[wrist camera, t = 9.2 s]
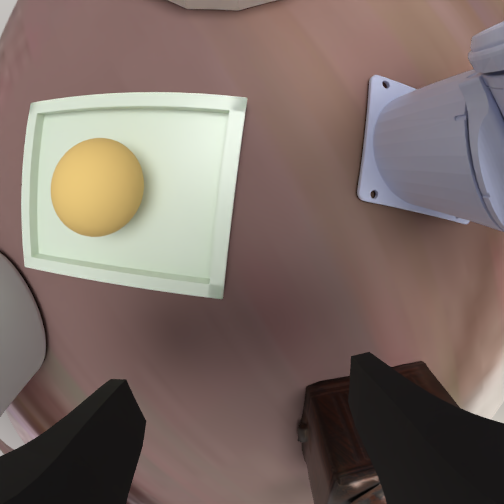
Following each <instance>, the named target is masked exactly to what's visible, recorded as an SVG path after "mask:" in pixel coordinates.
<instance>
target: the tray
mask: <svg viewBox="0 0 504 504" xmlns="http://www.w3.org/2000/svg"><path fill="white" fill-rule="evenodd" d="M246 107H247V98H245V97H235V96H225V95H213V94H198V93H173V92H135V93H111V94H97V95H85V96H75V97H67V98H59V99H52V100H46V101H39V102H34V103H31V105H30V111H29V117H28V123H27V130H26V138H25V147H24V157H23V171H22V200H21V210H22V239H23V253H24V264H25V267H28V268H33V269H37V270H42V271H47V272H52V273H57V274H62V275H67V276H73V277H78V278H84V279H89V280H95V281H100V282H106V283H112V284H118V285H124V286H130V287H137V288H143V289H150V290H157V291H163V292H171V293H178V294H185V295H193V296H200V297H208V298H217V299H223V292H224V284H225V275H226V266H227V257H228V248H229V239H230V230H231V222H232V213H233V205H234V197H235V189H236V181H237V173H238V165H239V158H240V150H241V143H242V135H243V128H244V121H245V114H246ZM93 138H107V139H112V140H115V141H118V142H120V143H121V144H123V145H125V146H126V147H127V148H128V149H129V150H130V151H131V152H132V153H133V154H134V155H135V156H136V158H137V160H138V161H139V163H140V166H141V168H142V172H143V177H144V193H143V197H142V201H141V204H140V206H139V208H138V210H137V212H136V213H135V215H134V217H133V218H132V219H131V220H130V221H129V222H128V223H127V224H126V225H125V226H124V227H122V228H121V229H120V230H118V231H116V232H114V233H112V234H109V235H106V236H101V237H89V236H84V235H80V234H78V233H76V232H74V231H72V230H71V229H69V228H68V227H67V226H65V225H64V224H63V222H62V221H61V220H60V219H59V217H58V216H57V214H56V212H55V210H54V207H53V204H52V200H51V180H52V176H53V173H54V170H55V168H56V166H57V164H58V162H59V161H60V159H61V158H62V157H63V155H64V154H65V153H66V152H67V151H68V150H69V149H70V148H72V147H73V146H75V145H76V144H78V143H80V142H82V141H85V140H88V139H93Z"/></svg>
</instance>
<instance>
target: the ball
mask: <svg viewBox="0 0 504 504" xmlns="http://www.w3.org/2000/svg"><path fill="white" fill-rule="evenodd" d="M143 193H144V177H143V172H142V168H141V166H140V163H139V161H138V160H137V158H136V156H135V155H134V154H133V153H132V152H131V151H130V150H129V149H128V148H127V147H126V146H125V145H123V144H121V143H120V142H118V141H115V140H112V139H107V138H93V139H88V140H85V141H82V142H80V143H78V144H76V145H75V146H73V147H72V148H70V149H69V150H68V151H67V152H66V153H65V154H64V155H63V157H62V158H61V159H60V161H59V162H58V164H57V166H56V168H55V170H54V173H53V176H52V180H51V200H52V204H53V207H54V210H55V212H56V214H57V216H58V217H59V219H60V220H61V221H62V222H63V224H64V225H65V226H67V227H68V228H69V229H71V230H72V231H74V232H76V233H78V234H80V235H84V236H89V237H101V236H106V235H109V234H112V233H114V232H116V231H118V230H120V229H121V228H122V227H124V226H125V225H126V224H127V223H128V222H129V221H130V220H131V219H132V218H133V217H134V215H135V213H136V212H137V210H138V208H139V206H140V204H141V201H142V197H143Z"/></svg>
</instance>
